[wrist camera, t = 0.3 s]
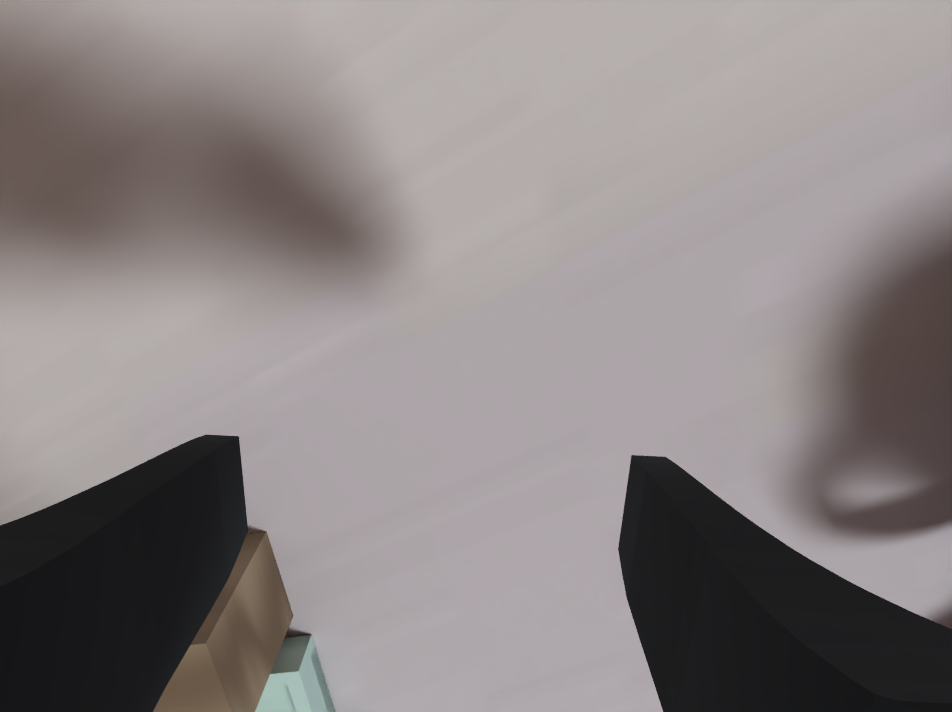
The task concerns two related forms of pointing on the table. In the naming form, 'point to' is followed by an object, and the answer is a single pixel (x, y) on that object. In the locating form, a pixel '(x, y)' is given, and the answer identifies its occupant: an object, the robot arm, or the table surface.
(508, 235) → the table surface
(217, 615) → the block
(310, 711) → the tray
